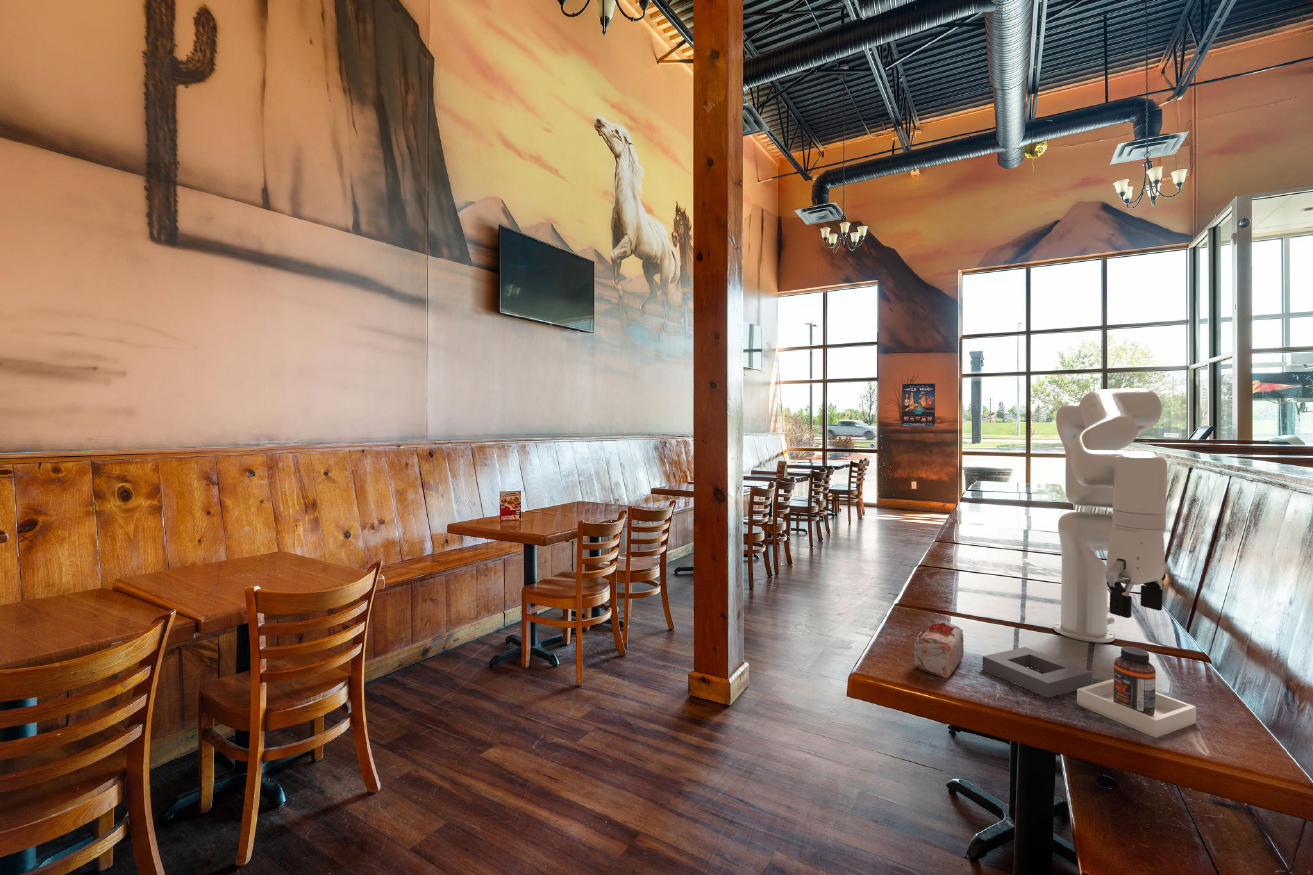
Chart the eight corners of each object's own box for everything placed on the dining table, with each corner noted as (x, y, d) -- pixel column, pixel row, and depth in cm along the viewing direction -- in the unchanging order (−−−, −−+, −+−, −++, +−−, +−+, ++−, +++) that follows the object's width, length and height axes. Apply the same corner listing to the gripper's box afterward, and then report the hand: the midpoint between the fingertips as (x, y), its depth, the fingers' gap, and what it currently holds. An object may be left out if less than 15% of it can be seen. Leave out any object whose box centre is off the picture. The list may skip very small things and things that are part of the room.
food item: (951, 683, 117) (952, 636, 117) (911, 672, 122) (911, 627, 122) (966, 662, 128) (966, 619, 128) (928, 653, 133) (928, 611, 133)
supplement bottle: (1104, 702, 108) (1105, 644, 107) (1133, 701, 108) (1134, 643, 108) (1133, 719, 102) (1134, 657, 101) (1164, 717, 102) (1165, 656, 102)
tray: (1116, 692, 113) (1116, 677, 113) (1196, 723, 101) (1196, 706, 101) (1076, 704, 108) (1077, 688, 108) (1155, 737, 97) (1156, 720, 96)
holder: (1024, 659, 129) (1025, 646, 129) (1092, 685, 116) (1092, 671, 116) (982, 669, 123) (982, 656, 123) (1048, 698, 111) (1048, 683, 110)
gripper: (1141, 514, 111) (1139, 599, 112) (1087, 521, 104) (1085, 611, 105) (1189, 520, 104) (1186, 611, 105) (1134, 528, 97) (1131, 625, 98)
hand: (1135, 611), depth 105 cm, fingers open, 9 cm apart
